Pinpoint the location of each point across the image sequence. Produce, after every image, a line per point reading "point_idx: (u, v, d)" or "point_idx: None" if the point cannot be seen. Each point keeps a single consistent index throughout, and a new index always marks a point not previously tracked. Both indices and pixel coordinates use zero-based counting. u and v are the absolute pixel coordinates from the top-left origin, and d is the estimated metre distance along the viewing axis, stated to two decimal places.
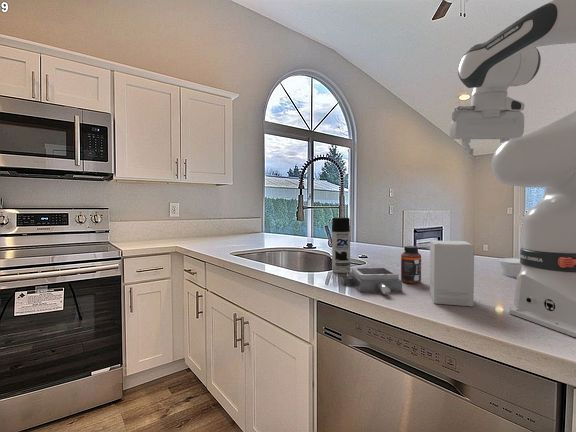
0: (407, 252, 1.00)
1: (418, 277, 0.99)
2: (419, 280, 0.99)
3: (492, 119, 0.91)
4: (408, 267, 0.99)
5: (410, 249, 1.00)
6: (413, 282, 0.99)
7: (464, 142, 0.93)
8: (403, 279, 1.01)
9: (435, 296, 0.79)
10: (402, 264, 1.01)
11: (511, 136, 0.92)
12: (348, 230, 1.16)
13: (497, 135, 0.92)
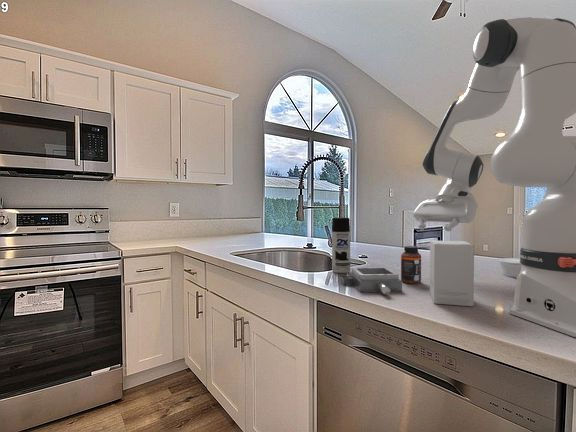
0: (407, 252, 1.00)
1: (418, 277, 0.99)
2: (419, 280, 0.99)
3: (445, 204, 1.10)
4: (408, 267, 0.99)
5: (410, 249, 1.00)
6: (413, 282, 0.99)
7: None
8: (403, 279, 1.01)
9: (435, 296, 0.79)
10: (402, 264, 1.01)
11: (456, 214, 1.04)
12: (348, 230, 1.16)
13: (444, 214, 1.07)
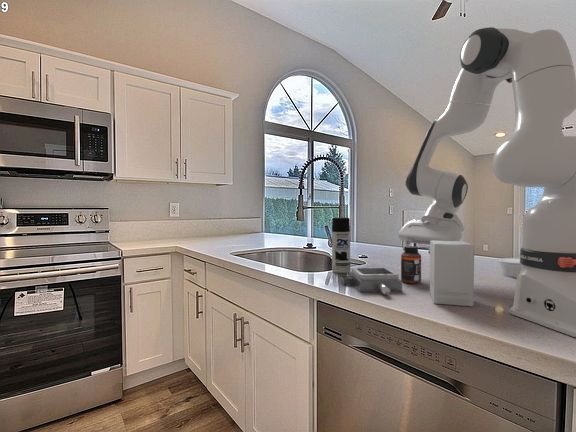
0: (407, 252, 1.00)
1: (418, 277, 0.99)
2: (419, 280, 0.99)
3: (430, 226, 1.06)
4: (408, 267, 0.99)
5: (410, 249, 1.00)
6: (413, 282, 0.99)
7: None
8: (403, 279, 1.01)
9: (435, 296, 0.79)
10: (402, 264, 1.01)
11: (440, 238, 0.99)
12: (348, 230, 1.16)
13: (428, 236, 1.03)
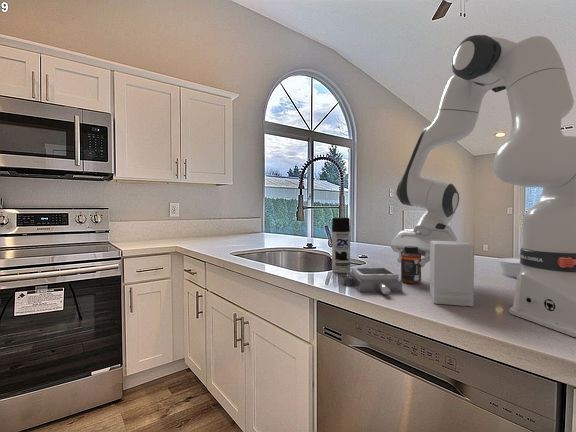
0: (407, 252, 1.00)
1: (418, 277, 0.99)
2: (419, 280, 0.99)
3: (423, 237, 1.04)
4: (408, 267, 0.99)
5: (410, 249, 1.00)
6: (413, 282, 0.99)
7: None
8: (403, 279, 1.01)
9: (435, 296, 0.79)
10: (402, 264, 1.01)
11: None
12: (348, 230, 1.16)
13: (421, 247, 1.01)
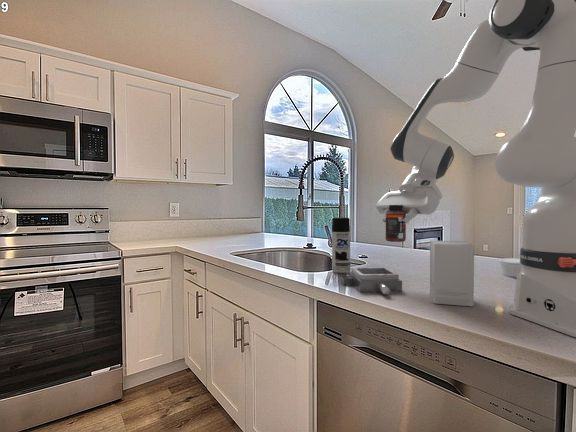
0: (392, 210, 0.98)
1: (402, 235, 0.97)
2: (403, 238, 0.97)
3: (408, 195, 1.02)
4: (392, 224, 0.97)
5: (394, 207, 0.98)
6: (397, 240, 0.97)
7: None
8: (387, 238, 0.99)
9: (435, 296, 0.79)
10: (386, 223, 0.99)
11: (417, 205, 0.95)
12: (348, 230, 1.16)
13: (405, 205, 0.99)
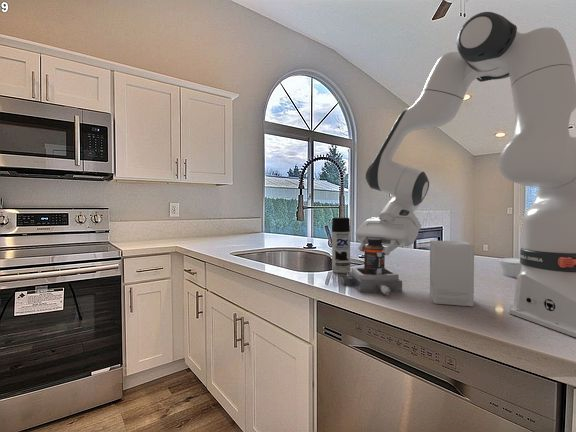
0: (370, 244, 0.96)
1: (381, 270, 0.95)
2: None
3: (387, 224, 0.99)
4: (370, 259, 0.95)
5: (373, 241, 0.95)
6: None
7: None
8: (366, 272, 0.96)
9: (435, 296, 0.79)
10: (365, 257, 0.97)
11: (395, 236, 0.93)
12: (348, 230, 1.16)
13: (384, 235, 0.96)
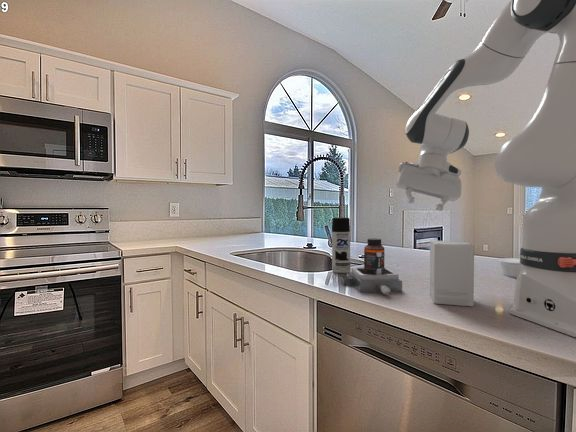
0: (370, 244, 0.96)
1: (381, 270, 0.95)
2: None
3: (433, 177, 1.04)
4: (370, 260, 0.95)
5: (373, 241, 0.95)
6: None
7: (407, 190, 1.04)
8: (366, 273, 0.96)
9: (435, 296, 0.79)
10: (365, 257, 0.97)
11: (449, 194, 1.03)
12: (348, 230, 1.16)
13: (436, 190, 1.03)
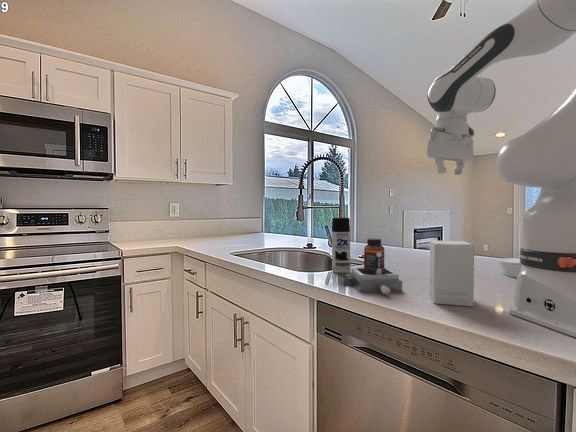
0: (370, 245, 0.96)
1: (381, 270, 0.95)
2: None
3: (456, 142, 1.01)
4: (370, 260, 0.95)
5: (372, 241, 0.95)
6: None
7: (439, 161, 0.98)
8: (365, 273, 0.96)
9: (435, 296, 0.79)
10: (365, 257, 0.97)
11: (466, 158, 1.04)
12: (348, 230, 1.16)
13: (459, 156, 1.01)
